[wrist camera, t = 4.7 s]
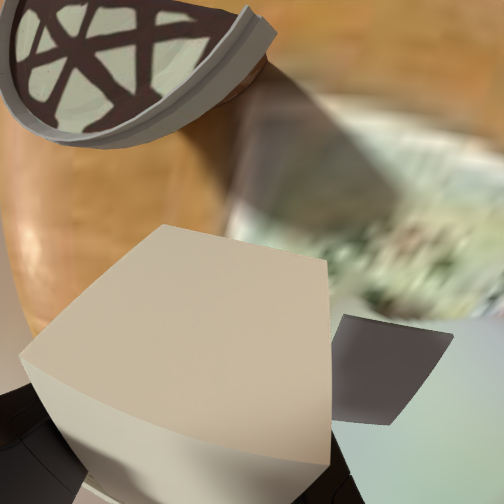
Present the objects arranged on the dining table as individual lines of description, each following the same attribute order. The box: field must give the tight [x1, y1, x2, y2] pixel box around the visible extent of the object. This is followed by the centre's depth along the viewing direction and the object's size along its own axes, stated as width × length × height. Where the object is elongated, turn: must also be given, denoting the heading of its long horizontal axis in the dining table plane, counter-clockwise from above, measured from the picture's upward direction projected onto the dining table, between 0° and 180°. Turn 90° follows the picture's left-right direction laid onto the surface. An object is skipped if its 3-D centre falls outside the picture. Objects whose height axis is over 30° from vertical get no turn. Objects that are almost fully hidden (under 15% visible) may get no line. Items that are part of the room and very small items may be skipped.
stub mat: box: [331, 314, 454, 425], centre depth 22 cm, size 10×12×1 cm
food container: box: [0, 0, 277, 150], centre depth 11 cm, size 12×6×10 cm, turn 65°
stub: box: [18, 224, 332, 504], centre depth 7 cm, size 4×7×6 cm, turn 170°
